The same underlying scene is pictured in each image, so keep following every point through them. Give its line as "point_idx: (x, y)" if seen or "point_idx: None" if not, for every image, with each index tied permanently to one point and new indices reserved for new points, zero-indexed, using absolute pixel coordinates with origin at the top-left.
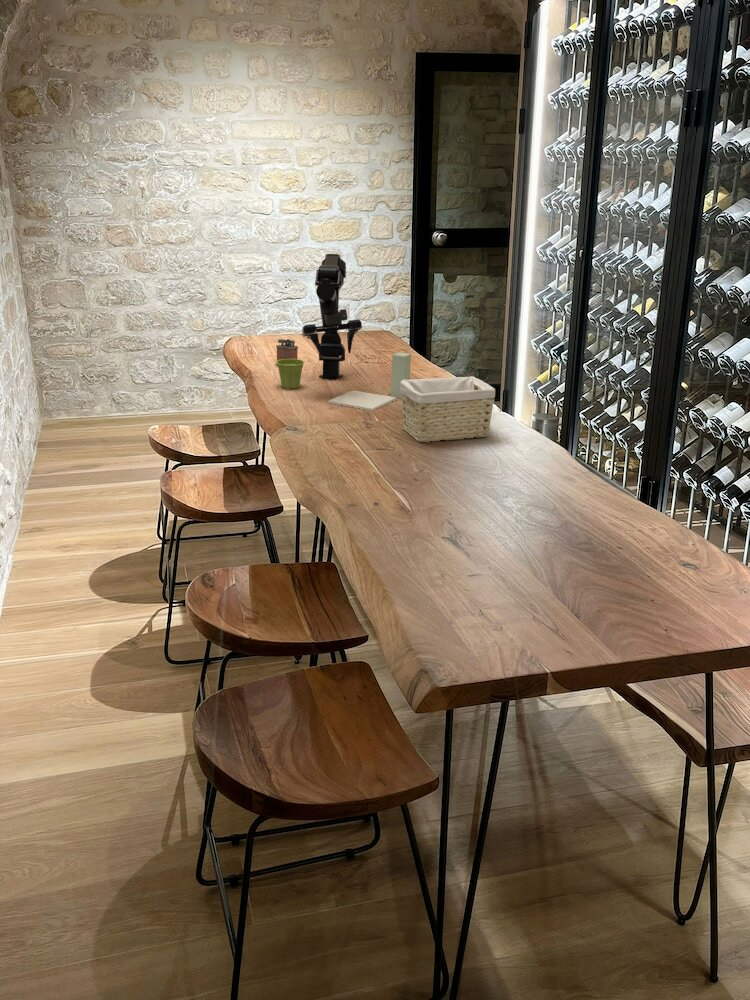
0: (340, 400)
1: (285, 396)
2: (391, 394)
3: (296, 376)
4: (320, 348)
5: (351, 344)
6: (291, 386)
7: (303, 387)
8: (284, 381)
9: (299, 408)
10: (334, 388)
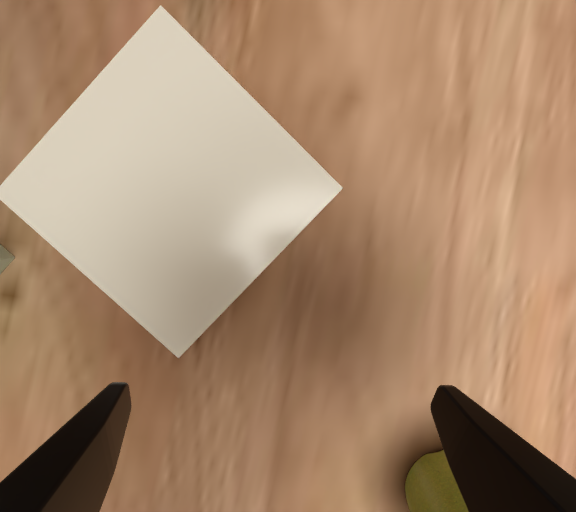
0: (283, 183)
1: (503, 333)
2: (3, 256)
3: (458, 489)
4: (505, 451)
5: (20, 468)
6: None
7: (388, 470)
8: None
9: (491, 123)
10: (252, 436)
